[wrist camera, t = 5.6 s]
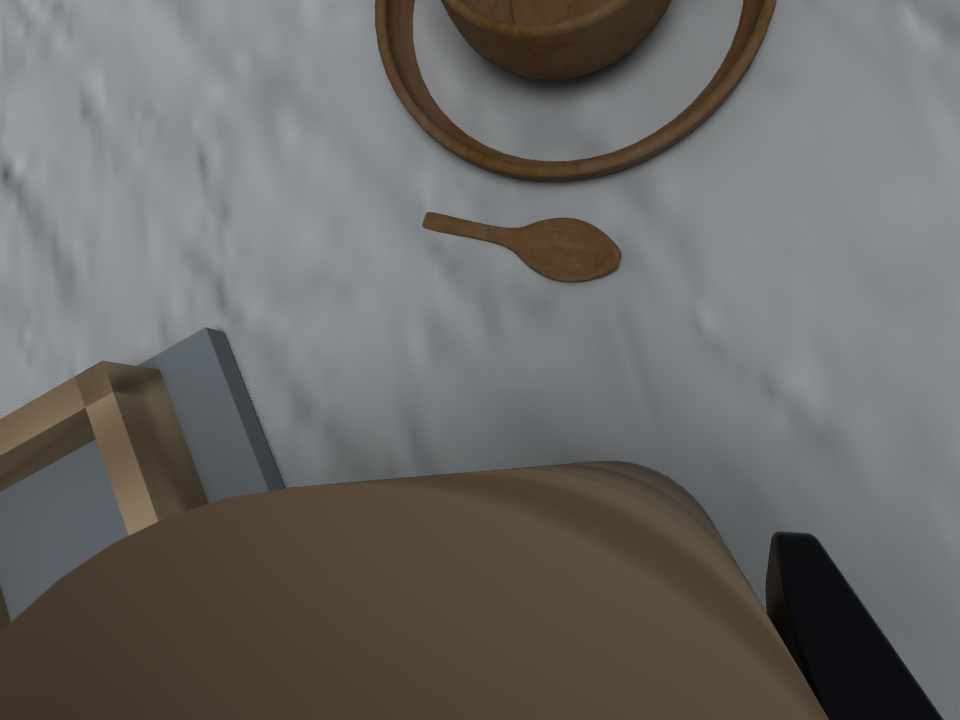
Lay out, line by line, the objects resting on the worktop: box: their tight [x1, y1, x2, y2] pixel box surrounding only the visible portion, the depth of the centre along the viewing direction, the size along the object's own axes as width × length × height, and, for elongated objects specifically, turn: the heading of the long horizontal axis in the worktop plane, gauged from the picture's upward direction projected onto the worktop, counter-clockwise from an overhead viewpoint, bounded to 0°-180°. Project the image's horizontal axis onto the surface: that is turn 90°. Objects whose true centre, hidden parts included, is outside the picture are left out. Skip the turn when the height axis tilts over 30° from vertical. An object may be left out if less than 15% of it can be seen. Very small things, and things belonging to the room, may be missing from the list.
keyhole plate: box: [0, 327, 285, 634], centre depth 22 cm, size 14×13×4 cm
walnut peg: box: [0, 461, 829, 720], centre depth 9 cm, size 4×4×13 cm
